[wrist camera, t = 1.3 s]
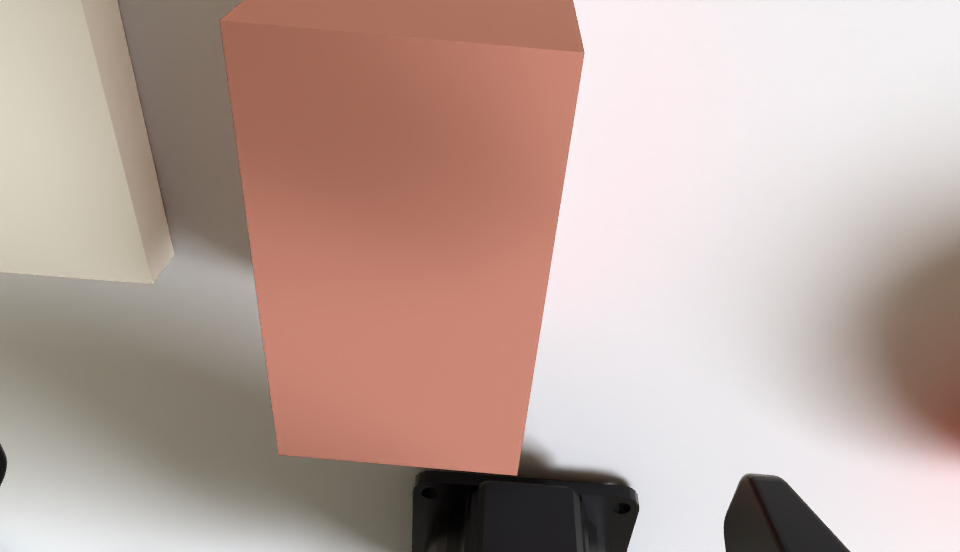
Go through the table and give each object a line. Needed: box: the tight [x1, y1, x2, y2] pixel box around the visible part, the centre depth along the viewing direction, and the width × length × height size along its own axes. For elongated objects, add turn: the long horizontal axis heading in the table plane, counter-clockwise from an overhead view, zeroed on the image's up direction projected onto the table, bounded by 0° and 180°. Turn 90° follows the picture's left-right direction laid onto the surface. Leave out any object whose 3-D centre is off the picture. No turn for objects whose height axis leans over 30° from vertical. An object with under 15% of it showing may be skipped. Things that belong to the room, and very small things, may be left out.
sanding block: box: [220, 0, 584, 476], centre depth 13 cm, size 8×4×5 cm, turn 176°
